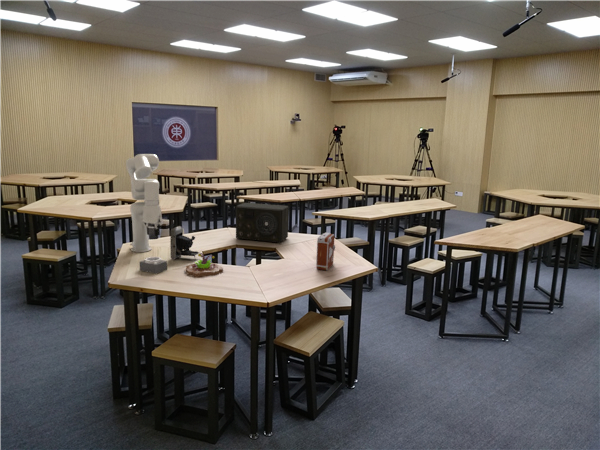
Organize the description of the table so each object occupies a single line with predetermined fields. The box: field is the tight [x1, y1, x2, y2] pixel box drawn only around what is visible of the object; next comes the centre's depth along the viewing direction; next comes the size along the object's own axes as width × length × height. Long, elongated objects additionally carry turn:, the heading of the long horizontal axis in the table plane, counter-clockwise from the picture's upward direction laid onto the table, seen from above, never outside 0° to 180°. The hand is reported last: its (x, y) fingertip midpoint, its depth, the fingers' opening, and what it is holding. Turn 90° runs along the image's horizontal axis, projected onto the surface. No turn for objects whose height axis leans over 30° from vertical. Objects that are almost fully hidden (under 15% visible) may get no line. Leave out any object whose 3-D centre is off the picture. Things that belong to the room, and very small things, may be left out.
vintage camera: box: [169, 225, 201, 260], centre depth 274 cm, size 10×15×20 cm, turn 78°
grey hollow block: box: [138, 256, 168, 275], centre depth 252 cm, size 12×9×6 cm
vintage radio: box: [235, 202, 290, 244], centre depth 328 cm, size 38×20×25 cm, turn 76°
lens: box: [148, 224, 159, 240], centre depth 250 cm, size 5×5×8 cm
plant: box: [185, 252, 224, 278], centre depth 252 cm, size 20×20×11 cm
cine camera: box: [315, 232, 336, 271], centre depth 267 cm, size 9×19×20 cm, turn 161°
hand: (153, 234), depth 250 cm, fingers closed on lens, 5 cm apart
